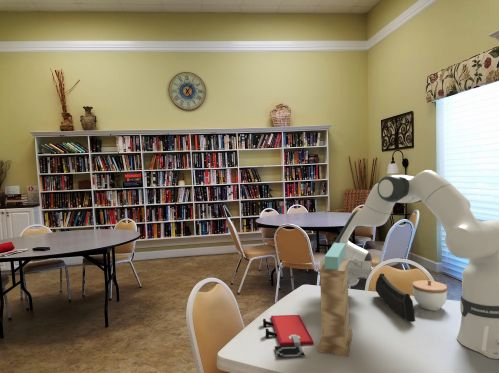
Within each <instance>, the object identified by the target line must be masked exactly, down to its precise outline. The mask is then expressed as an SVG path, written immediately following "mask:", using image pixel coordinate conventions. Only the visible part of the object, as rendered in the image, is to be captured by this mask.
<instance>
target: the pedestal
mask: <svg viewBox="0 0 499 373" xmlns="http://www.w3.org/2000/svg"><path fill="white" fill-rule="evenodd" d="M348 265H349V260H343V261H342V263H341V265H340V267H339V269H338V270H330V269H325V260H324V261H323V263H322V264H321V266H320V265H319V267H318V268H317V273H320V274H319V276H320V277H319V280H320V281H319V282H320V315H321V316H320V317H321V319H320V320H321V323H320V324H321V337H320V339H319V342H318V345H317V347H318V348H317V349H318V350H317V351H318V352H319V353H325V354H332V355H337V356H343V357H349V354H350V348H351V344H352V341H353V340H352V339H353V328H350V315H349V314H350V312H349V311H350V309H349V308H350V307H349V304H350V303H349V286H348Z"/></svg>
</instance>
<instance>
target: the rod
mask: <svg viewBox="0 0 499 373" xmlns="http://www.w3.org/2000/svg"><path fill="white" fill-rule="evenodd" d="M333 243H334V242H333ZM333 243H332V245H331V247H330V248H329V249H328V251H327V252H326V254H325V255H324V258H325V269H330V270H338V269H339V267H340V265H341V263H342V261H343V259H344V257H345V255H346V244H345V243H334V244H333Z"/></svg>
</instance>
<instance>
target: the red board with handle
mask: <svg viewBox="0 0 499 373" xmlns="http://www.w3.org/2000/svg"><path fill="white" fill-rule="evenodd" d="M270 319H271V321H267V319H266V318H263V319H262V326H263V328H265V338H266V339H270V336H272V337H276V339H277V341H278V344H279V345H275V346H274V349H275V352H276V357H277V358H280V357H281V358H284V357H302V356H303V357H304V356H306V355H305V352H304V351H303V348H302V346H310V345H312V346H313V345H315V341H314V340H313V338H312V335H311V333H310V332H309V330H308V328H307V327H306V325H305V323H304V321H303V319H302V317H301V316H300V314H289V315H288V314H285V315H284V314H283V315H280V314H279V315H270ZM267 326H270V327H273V328H274V332H273V331H271V330H269V328H267Z"/></svg>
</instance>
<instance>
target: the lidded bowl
mask: <svg viewBox="0 0 499 373" xmlns="http://www.w3.org/2000/svg"><path fill="white" fill-rule="evenodd" d="M411 287H412V295H413V298H414V300H415V301H416V302H417V304H418V305H419V306H420V308H422V309H424V310H427V311H429V310H430V311H439V310H440V309H441V308H442V307H443V306H444V305H445V304H446V303H447V302H446V301H447V297H448V286H447V285H446V284H444V283H442V282H439V281H435V280H431V279H427V280H426V279H425V280H415V281H413V282H412V286H411Z"/></svg>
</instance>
